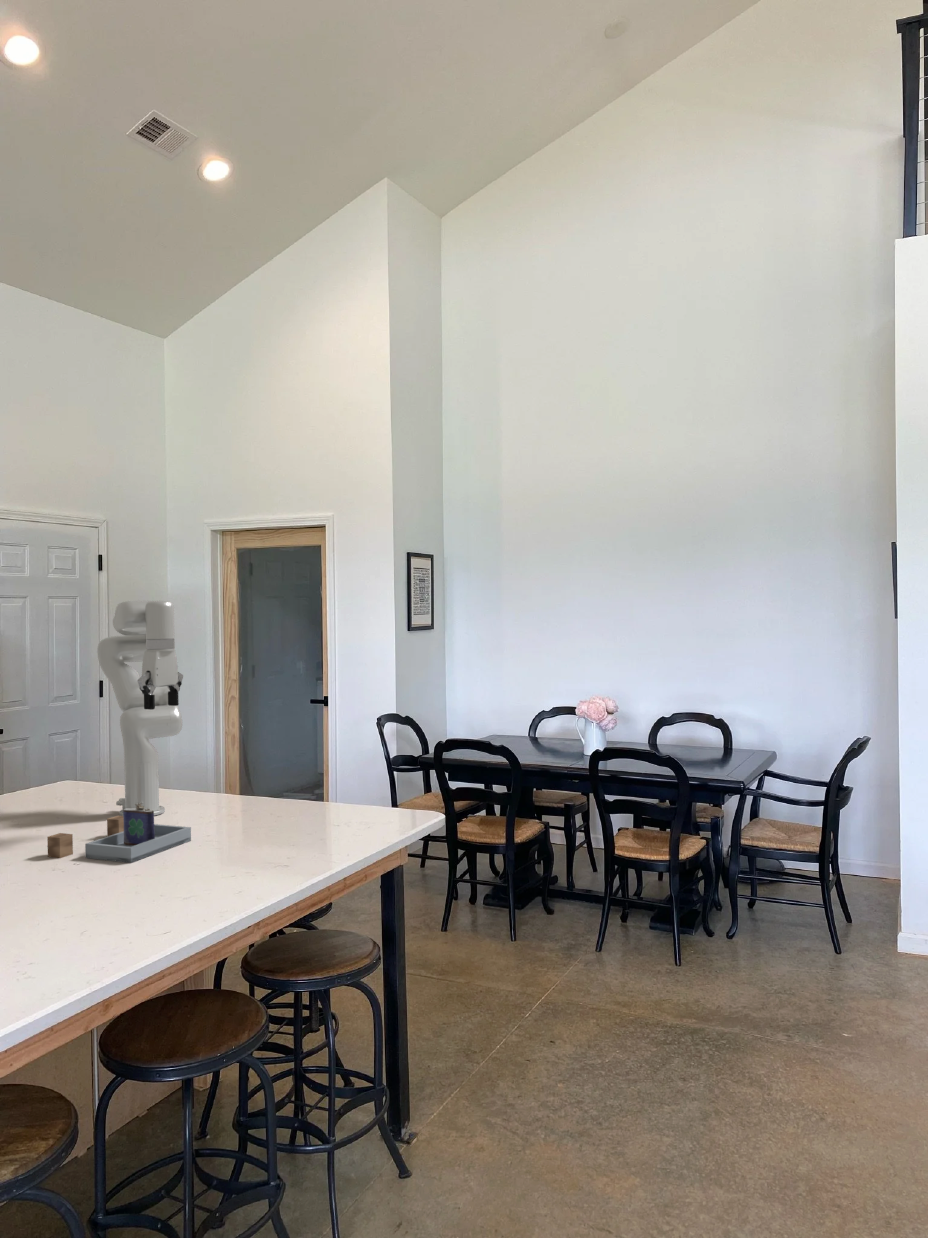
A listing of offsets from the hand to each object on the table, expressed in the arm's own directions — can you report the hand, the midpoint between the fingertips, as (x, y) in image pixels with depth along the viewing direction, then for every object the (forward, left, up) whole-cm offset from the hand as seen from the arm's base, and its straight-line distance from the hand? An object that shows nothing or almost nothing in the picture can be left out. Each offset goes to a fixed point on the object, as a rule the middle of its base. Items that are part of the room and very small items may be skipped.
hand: (161, 707), depth 253 cm
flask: (+10, -21, -32) cm, 40 cm away
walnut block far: (-5, -12, -33) cm, 36 cm away
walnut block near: (-5, -32, -33) cm, 47 cm away
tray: (+10, -21, -33) cm, 41 cm away
